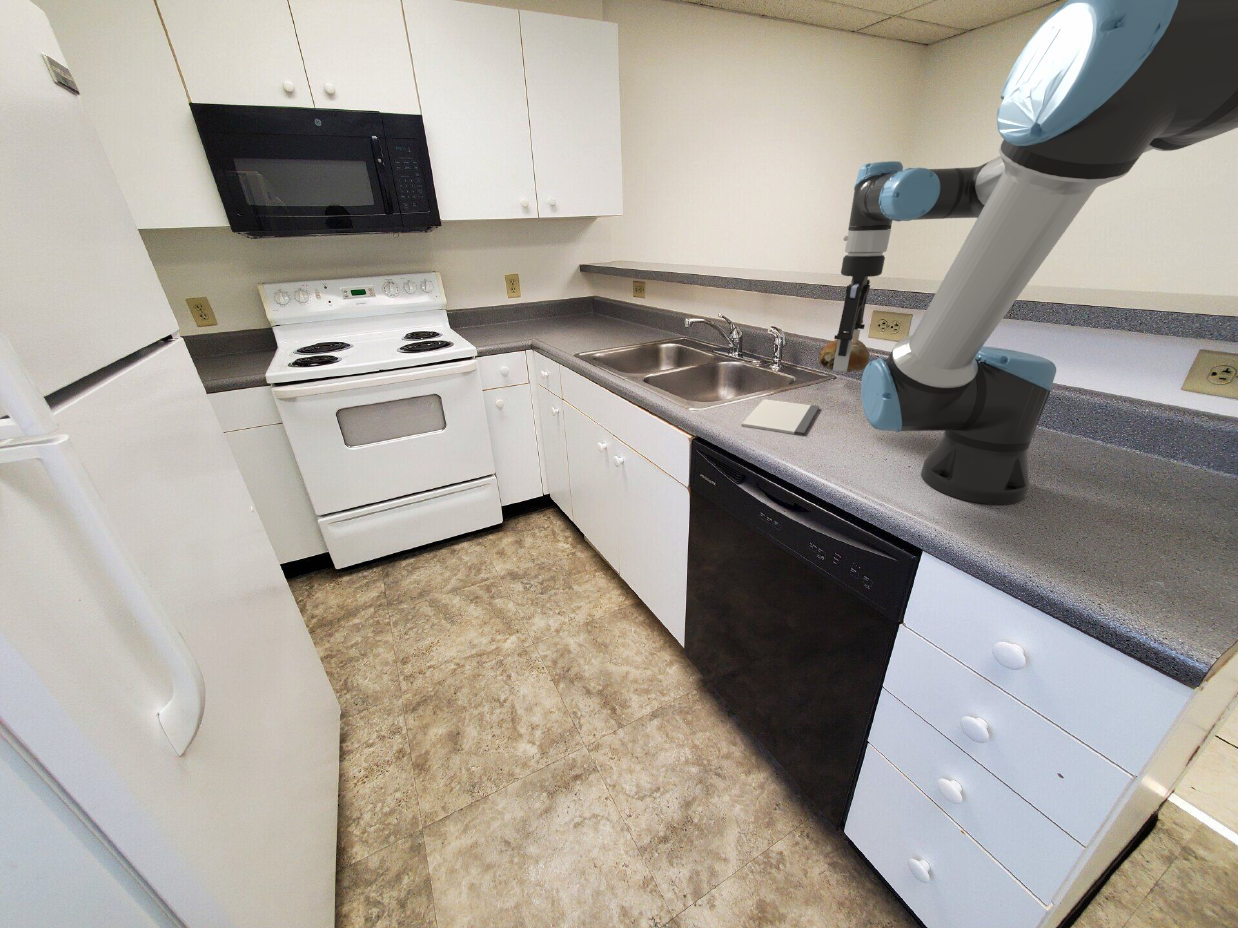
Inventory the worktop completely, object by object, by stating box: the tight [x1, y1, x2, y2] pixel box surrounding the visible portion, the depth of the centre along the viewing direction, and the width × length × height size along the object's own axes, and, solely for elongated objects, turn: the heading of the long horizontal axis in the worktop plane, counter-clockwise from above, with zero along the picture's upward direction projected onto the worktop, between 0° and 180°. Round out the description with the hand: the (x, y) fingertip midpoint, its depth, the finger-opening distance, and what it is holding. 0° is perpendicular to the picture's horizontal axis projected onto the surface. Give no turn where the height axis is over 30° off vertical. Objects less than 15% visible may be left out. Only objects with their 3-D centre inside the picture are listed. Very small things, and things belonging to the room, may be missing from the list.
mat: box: [741, 398, 820, 437], centre depth 116 cm, size 20×14×1 cm
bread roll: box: [818, 338, 870, 373], centre depth 103 cm, size 10×10×8 cm
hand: (844, 364), depth 104 cm, fingers closed on bread roll, 10 cm apart
